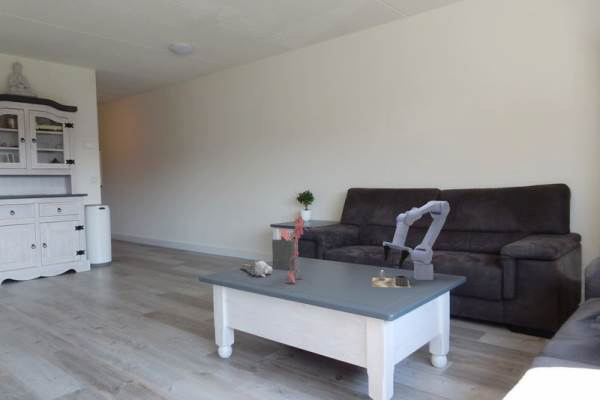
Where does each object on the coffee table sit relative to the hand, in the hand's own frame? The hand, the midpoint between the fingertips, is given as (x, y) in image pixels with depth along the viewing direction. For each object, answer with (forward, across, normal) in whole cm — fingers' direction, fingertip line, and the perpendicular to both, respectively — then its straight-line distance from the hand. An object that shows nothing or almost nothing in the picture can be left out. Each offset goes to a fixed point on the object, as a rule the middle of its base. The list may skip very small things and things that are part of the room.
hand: (392, 263), depth 209 cm
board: (+10, 0, +6) cm, 12 cm away
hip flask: (+19, -70, +18) cm, 75 cm away
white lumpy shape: (+26, -68, -1) cm, 73 cm away
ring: (+9, +6, +3) cm, 11 cm away
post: (+10, -6, +9) cm, 15 cm away
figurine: (+23, -42, -6) cm, 49 cm away
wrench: (+28, -81, +1) cm, 86 cm away
